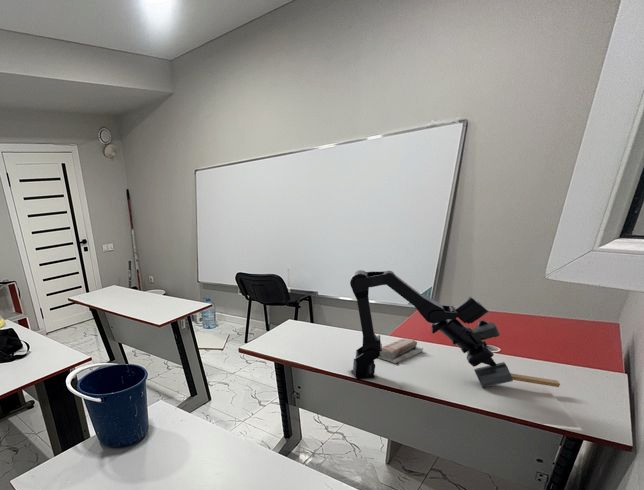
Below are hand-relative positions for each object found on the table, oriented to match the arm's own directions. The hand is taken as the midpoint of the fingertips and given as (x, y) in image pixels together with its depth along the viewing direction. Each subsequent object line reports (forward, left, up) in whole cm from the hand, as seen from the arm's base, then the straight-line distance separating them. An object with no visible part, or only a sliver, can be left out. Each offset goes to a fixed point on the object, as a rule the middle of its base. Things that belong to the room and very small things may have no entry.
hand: (494, 365), depth 115 cm
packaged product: (-15, +30, -8) cm, 35 cm away
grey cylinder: (-3, +1, -5) cm, 6 cm away
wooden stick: (-3, +1, -3) cm, 4 cm away
